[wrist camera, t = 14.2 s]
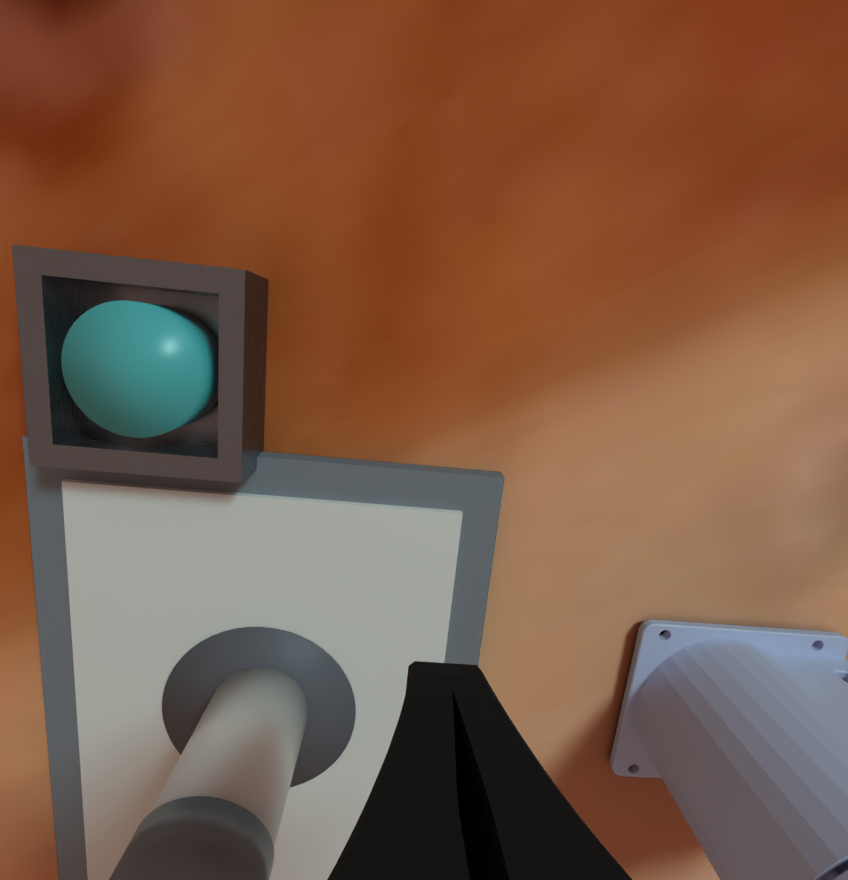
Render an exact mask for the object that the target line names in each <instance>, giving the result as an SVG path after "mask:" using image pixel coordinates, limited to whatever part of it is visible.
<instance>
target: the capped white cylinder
mask: <svg viewBox="0 0 848 880" xmlns="http://www.w3.org/2000/svg"><path fill="white" fill-rule="evenodd" d="M308 713H309V707H308V701H307V698H306V696H305V693H304V692H303V690H302V688H301V687H300V686H299V685H298V684H297V683H296V682H295V681H294V680H293V679H292V678H290V677H289V676H287V675H285V674H284V673H281V672H279V671H276V670H273V669H268V668H249V669H244V670H241V671H238V672H236V673H233V674H232V675H230V676H228V677H227V678H226V679H225V680H224V681H223V682H222V683H221V684H220V685H219V686H218V688H217V689H216V691H215V693H214V695H213V697H212V699H211V700H210V702H209V704H208V706H207V708H206V710H205V711H204V713H203V715H202V717H201V719H200V721H199V723H198V724H197V726H196V728H195V730H194V732H193V734H192V735H191V737H190V739H189V741H188V743H187V745H186V747H185V748H184V750H183V752H182V754H181V756H180V758H179V759H178V761H177V763H176V765H175V767H174V769H173V771H172V772H171V774H170V776H169V778H168V780H167V782H166V783H165V785H164V787H163V789H162V791H161V793H160V795H159V796H158V798H157V800H156V802H155V804H154V806H153V807H152V809H151V811H150V813H149V814H148V815H147V816H146V817H145V818H144V819H143V821H142V822H141V823H140V825H139V826H138V828H137V830H136V832H135V833H134V835H133V837H132V839H131V841H130V842H129V844H128V846H127V848H126V850H125V852H124V853H123V855H122V857H121V859H120V861H119V862H118V864H117V866H116V868H115V870H114V872H113V873H112V875H111V877H110V879H109V880H269V878H270V874H271V870H272V866H273V862H274V846H275V842H276V838H277V834H278V830H279V827H280V823H281V819H282V815H283V811H284V807H285V803H286V800H287V796H288V792H289V788H290V784H291V780H292V777H293V773H294V769H295V765H296V761H297V757H298V754H299V750H300V746H301V742H302V738H303V734H304V730H305V727H306V723H307V719H308Z"/></svg>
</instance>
